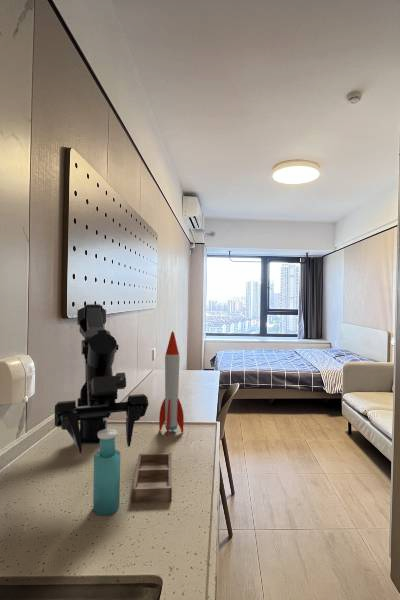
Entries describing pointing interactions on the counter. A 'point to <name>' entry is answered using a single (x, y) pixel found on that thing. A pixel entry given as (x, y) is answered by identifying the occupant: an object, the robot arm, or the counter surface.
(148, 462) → the caddy
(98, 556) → the counter surface
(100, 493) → the bottle
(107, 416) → the robot arm
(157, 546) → the counter surface
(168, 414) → the toy rocket
